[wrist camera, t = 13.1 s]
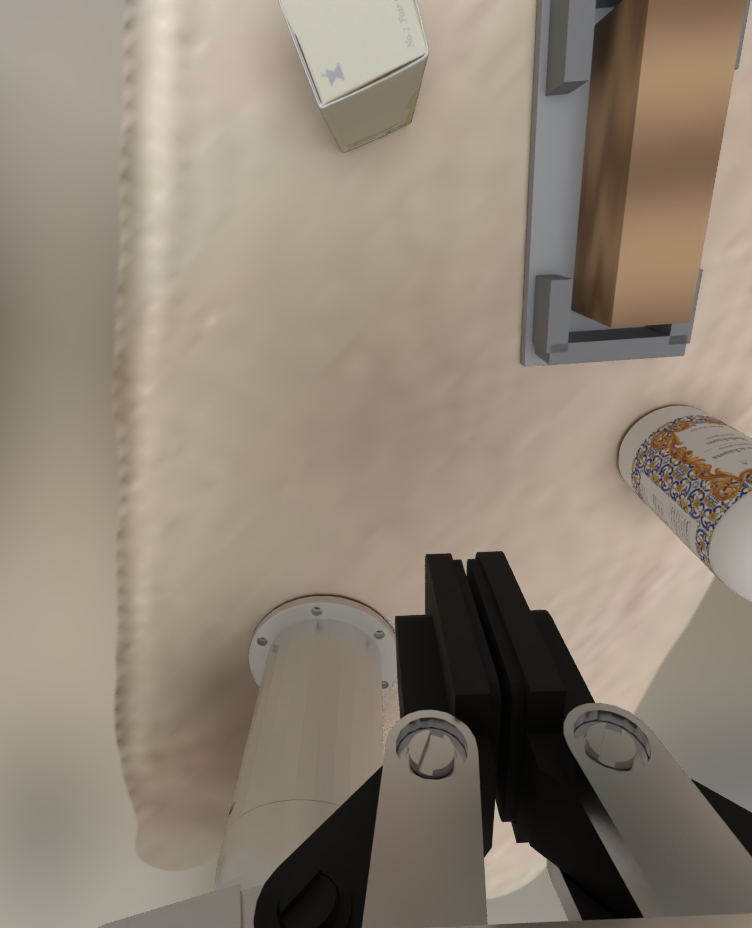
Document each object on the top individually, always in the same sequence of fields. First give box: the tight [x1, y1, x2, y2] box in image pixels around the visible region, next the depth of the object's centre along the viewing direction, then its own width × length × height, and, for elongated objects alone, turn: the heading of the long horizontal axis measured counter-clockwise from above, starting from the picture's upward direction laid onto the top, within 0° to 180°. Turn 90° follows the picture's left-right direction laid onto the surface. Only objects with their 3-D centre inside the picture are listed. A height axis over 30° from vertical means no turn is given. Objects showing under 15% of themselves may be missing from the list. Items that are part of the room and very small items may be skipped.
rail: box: [521, 0, 750, 366], centre depth 29 cm, size 20×9×4 cm, turn 4°
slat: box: [571, 0, 747, 328], centre depth 27 cm, size 14×4×6 cm, turn 4°
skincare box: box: [278, 0, 429, 152], centre depth 23 cm, size 6×4×12 cm
